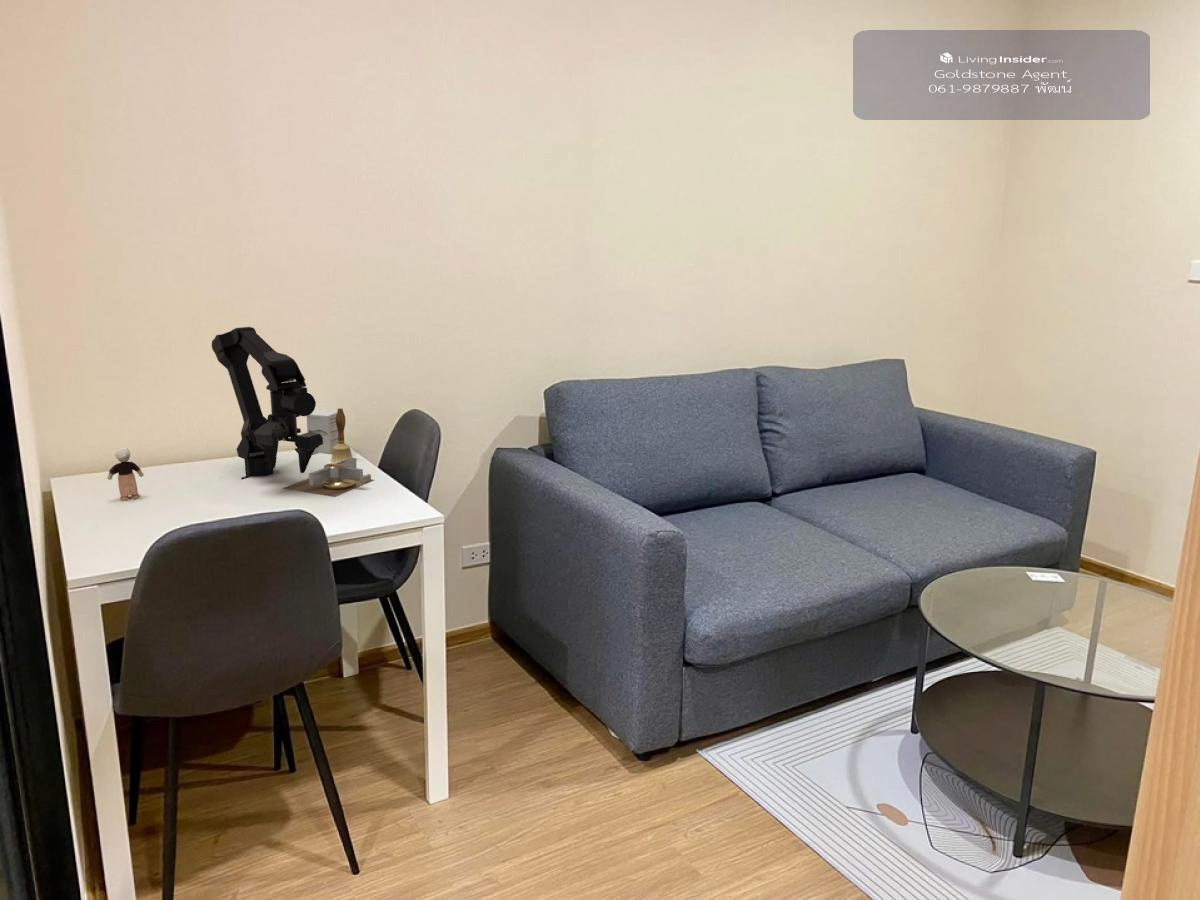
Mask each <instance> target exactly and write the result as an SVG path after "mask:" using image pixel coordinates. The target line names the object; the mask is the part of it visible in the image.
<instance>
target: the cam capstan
mask: <svg viewBox="0 0 1200 900" xmlns="http://www.w3.org/2000/svg"><path fill="white" fill-rule="evenodd" d="M363 470H364V469H362V468H357V458H356V457H353V458H350V459H347V460H344V461H342V462H339V463H333V462H331V463H327V464H323V468H321V469H318V470H315V471H313V472H312V471H311V472H310V473H308V478H309V485H316V484H318V483H321V482H322V486H323V487H324V488H328V489H344V488H349V487H352V486H354V485H355V481H362V480H363V475H364V471H363Z"/></svg>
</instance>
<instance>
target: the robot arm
mask: <svg viewBox="0 0 1200 900" xmlns="http://www.w3.org/2000/svg"><path fill="white" fill-rule="evenodd" d="M211 349H212V351H213V353H214V354H215V357H216V359H217V361H218V362H219V363H220V364H221V365H222V366H223V367H224V368H225V369H227V371H228V376H229V378H230V381H231V384H232V388H233V390H234V395H235V398H236V401H237V404H238V406H239V410H240V414H241V416H242V419H243V424H242V426H241V427H242V428H241V430H240V436H241V440H240V442H239V443H238V446H237V447H236V453H237V457H238V458H241V459H243V460H244V473H245V476H242V477H241V480H245V479H248V478H252V477H269V476H271V475H274V469H276V465H277V458H278V450H279V449H278V448H279V443H280V442H281V441H282V442H290V443H294V446H296V448H294V451H296V453H297V455H298V463H299V464H298V465H299V466H298V467H299V471H300V472H299V473H300V474H304V473H305V472H306V469H307V467H308V465H309V463H310V460H311V458H312V456H313V455H312V454H313V452H314V450H315V449H316V448H318V447H319V445H322V444H323V437H322V435H321V434H319V433H312V432H305V433H302V430H301V428H298V425H297V423H298V422H297V418H300V417H307V416H308V415H310V414H311V413H312V412H313V411H315V409H316V405H317V402H316V399H315V397H314V395H312V394H311V393H309V392H308V387H307V383H306V378H305V377H304V375H303V373H302V371H301V369H300V367H299V365H298V363H297V362H296V360H295V359H294V358H293V357H290V356H289V355H287V354H284V353H282V352H281V353H280V352H278V351H276V350H275V349H274V348H272V346H270V344H268V343H267V342H266V340H264V339H263V338H262V337H261V336H260V335H259V334H258V333H257V330H256V329H255V328H254V327H252V326H243V327H235V328H233V329H232V330H230V331H228V332H224V333H221V334H216V335H215V337H214V338H213V339H212V341H211ZM249 356H250V357H252V358H253V360H255V361H256V362H257V363H258V364H259V365H260V367H261V374H262V376H263V377H264V379H265V380H266V381H267V383H268V384H267V386H266V387H265V388H266V390H268V391H270V392H269V394H270V396H269V397H270V409H271V410H270V411H271V413H270V414H267V417H265V416H264V415H263V411H262V408H261V405H260V402H259V399H258V396H257V392H256V389H255V386H254V383H253V380H252V377H251V374H250V370H249V367H248V360H249ZM279 441H280V442H279Z"/></svg>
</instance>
